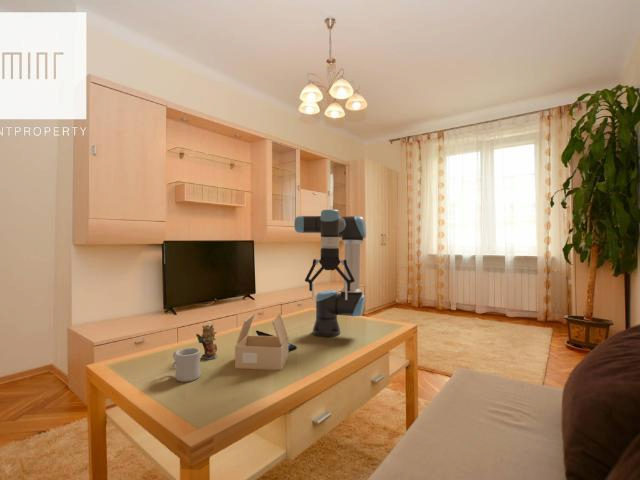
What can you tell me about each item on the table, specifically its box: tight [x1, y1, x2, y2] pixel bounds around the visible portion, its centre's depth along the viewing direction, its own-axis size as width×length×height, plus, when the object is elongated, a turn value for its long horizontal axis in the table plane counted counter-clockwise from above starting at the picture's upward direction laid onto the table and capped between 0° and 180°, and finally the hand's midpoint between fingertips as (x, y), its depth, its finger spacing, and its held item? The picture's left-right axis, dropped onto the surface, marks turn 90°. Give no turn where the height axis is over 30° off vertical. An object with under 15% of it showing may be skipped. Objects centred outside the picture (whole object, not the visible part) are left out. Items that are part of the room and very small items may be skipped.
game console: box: [255, 330, 297, 352], centre depth 160 cm, size 16×14×9 cm
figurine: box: [196, 324, 218, 361], centre depth 148 cm, size 9×8×15 cm
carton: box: [234, 334, 289, 371], centre depth 143 cm, size 15×19×9 cm
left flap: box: [236, 313, 256, 345], centre depth 143 cm, size 13×1×10 cm, turn 175°
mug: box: [172, 347, 202, 383], centre depth 128 cm, size 12×9×10 cm
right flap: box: [271, 314, 289, 345], centre depth 142 cm, size 13×1×10 cm, turn 175°
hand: (329, 299), depth 138 cm, fingers open, 13 cm apart
